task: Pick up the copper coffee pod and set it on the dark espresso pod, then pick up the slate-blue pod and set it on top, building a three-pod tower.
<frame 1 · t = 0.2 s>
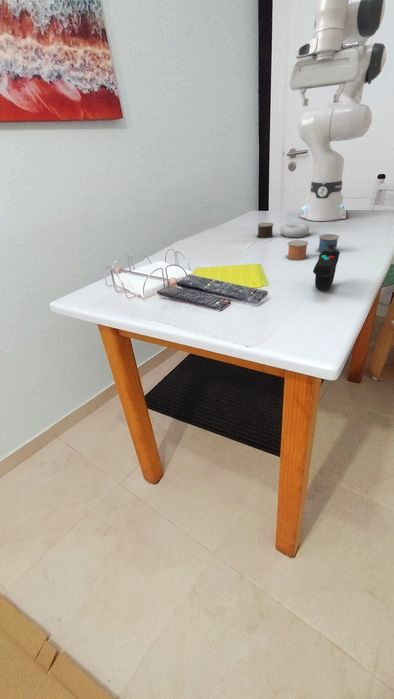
hand: (320, 104, 106), 39 cm above the table, tool pointing down, fingers open, 8 cm apart
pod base: (265, 236, 126), on the table
controller: (322, 291, 80), on the table
donut: (294, 235, 124), on the table
pod top: (327, 250, 106), on the table
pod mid: (296, 256, 102), on the table
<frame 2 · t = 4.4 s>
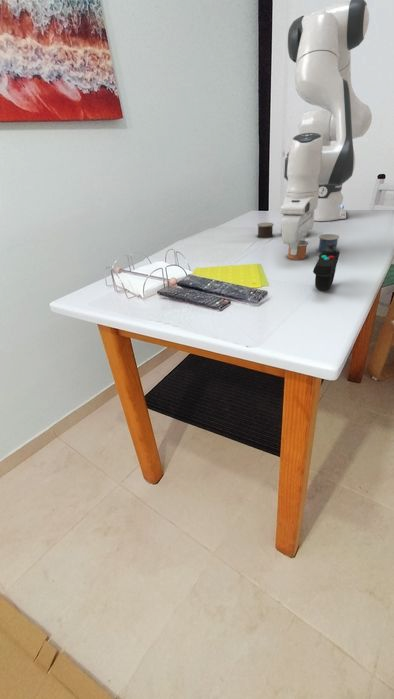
hand: (297, 251, 101), 2 cm above the table, tool pointing down, fingers closed on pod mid, 5 cm apart
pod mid: (296, 256, 102), on the table, touching gripper
everything else where it was.
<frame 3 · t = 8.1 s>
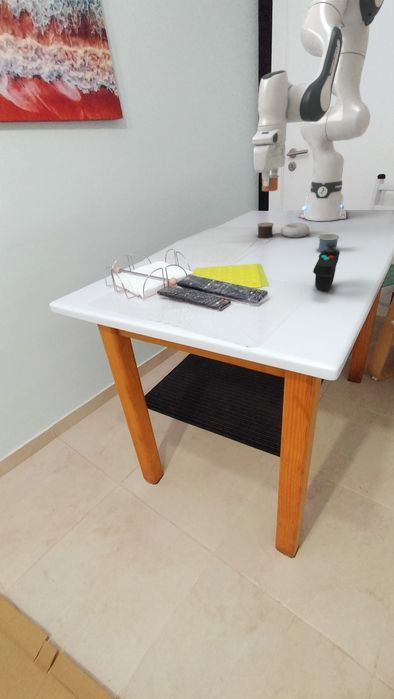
hand: (269, 184, 114), 18 cm above the table, tool pointing down, fingers closed on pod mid, 5 cm apart
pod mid: (269, 190, 115), point 16 cm above the table, touching gripper
everything else where it was.
when the fingers open (6 cm above the table, at t = 12.1 s): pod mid stays where it is, resting on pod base.
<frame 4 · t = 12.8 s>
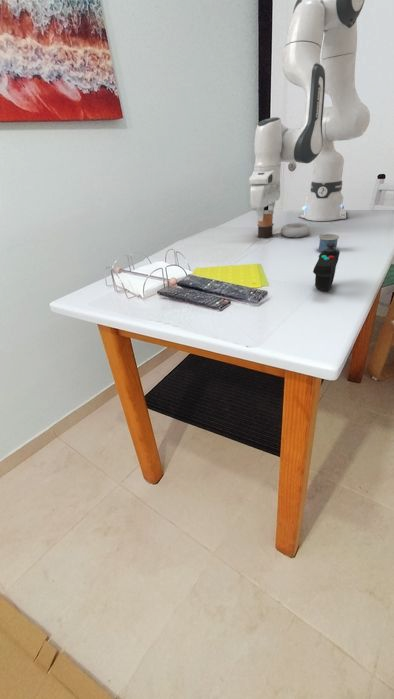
hand: (265, 217, 122), 6 cm above the table, tool pointing down, fingers open, 8 cm apart
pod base: (265, 236, 126), on the table, touching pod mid
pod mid: (265, 224, 123), point 4 cm above the table, touching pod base
everything else where it was.
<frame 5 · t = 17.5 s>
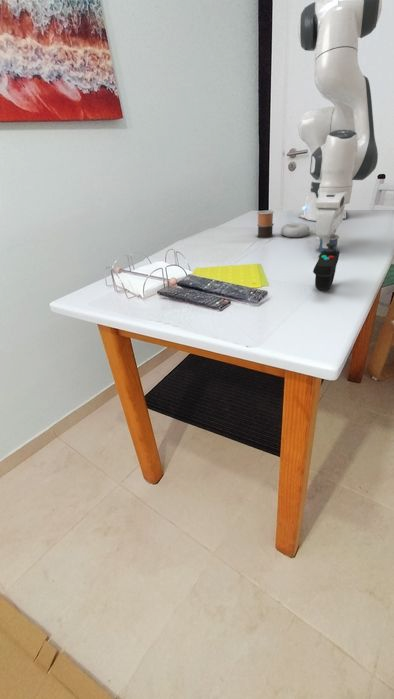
hand: (327, 244, 105), 2 cm above the table, tool pointing down, fingers closed on pod top, 5 cm apart
pod top: (327, 250, 106), on the table, touching gripper
everything else where it was.
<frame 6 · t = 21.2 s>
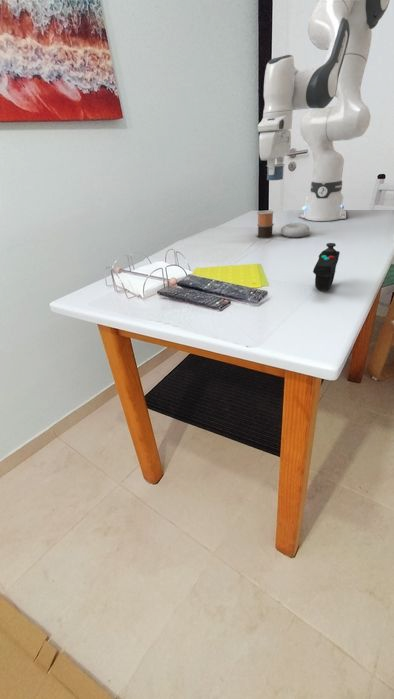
hand: (275, 173, 112), 21 cm above the table, tool pointing down, fingers closed on pod top, 5 cm apart
pod top: (274, 179, 113), point 19 cm above the table, touching gripper
everything else where it was.
when the fingers open (10 cm above the table, at t = 25.1 s): pod top stays where it is, resting on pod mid.
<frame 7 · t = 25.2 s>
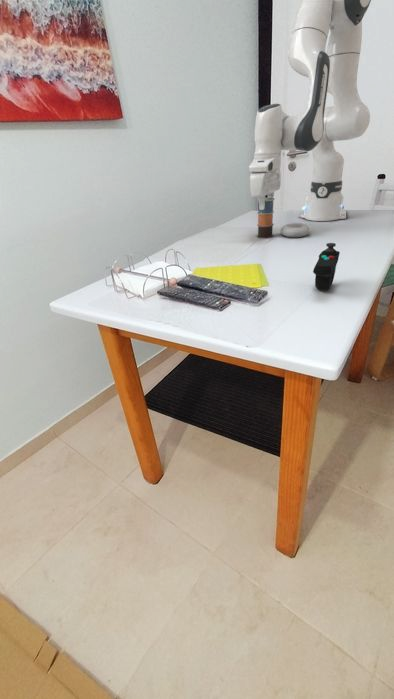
hand: (265, 207, 120), 10 cm above the table, tool pointing down, fingers open, 5 cm apart
pod top: (265, 211, 121), point 9 cm above the table, touching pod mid
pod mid: (265, 224, 123), point 4 cm above the table, touching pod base, pod top
everything else where it was.
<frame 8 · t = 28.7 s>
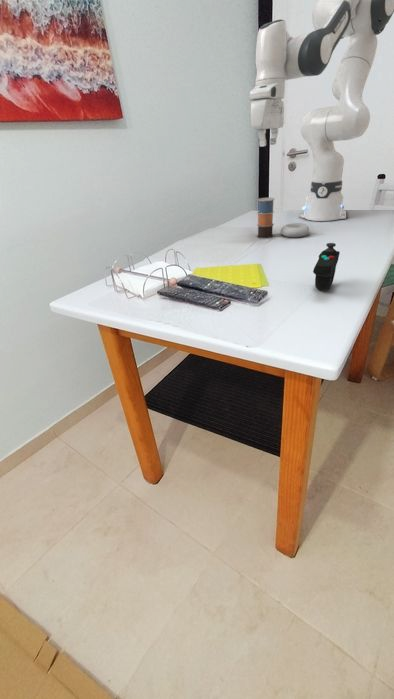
hand: (267, 145, 110), 29 cm above the table, tool pointing down, fingers open, 8 cm apart
nothing on the table moved.
at the end: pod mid 0.1 cm off-centre on the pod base, point 4.3 cm above the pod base's base; pod top 0.1 cm off-centre on the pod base, point 8.6 cm above the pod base's base; pod top tilted 0° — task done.
